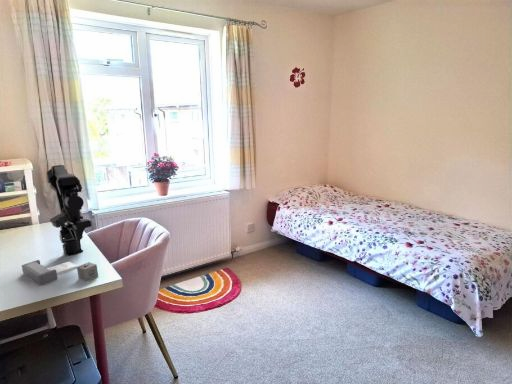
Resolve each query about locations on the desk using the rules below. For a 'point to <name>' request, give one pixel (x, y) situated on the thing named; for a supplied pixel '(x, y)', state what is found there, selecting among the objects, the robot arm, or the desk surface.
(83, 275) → the dice cube
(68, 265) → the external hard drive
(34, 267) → the dock
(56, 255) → the desk surface
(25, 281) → the desk surface
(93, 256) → the desk surface
